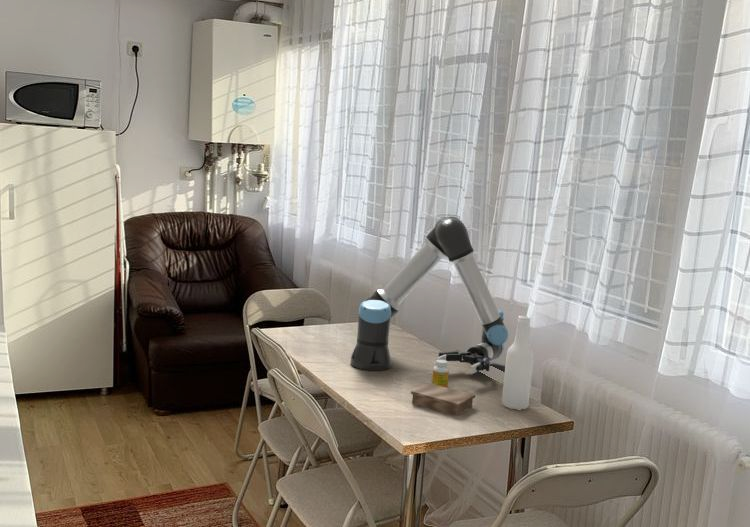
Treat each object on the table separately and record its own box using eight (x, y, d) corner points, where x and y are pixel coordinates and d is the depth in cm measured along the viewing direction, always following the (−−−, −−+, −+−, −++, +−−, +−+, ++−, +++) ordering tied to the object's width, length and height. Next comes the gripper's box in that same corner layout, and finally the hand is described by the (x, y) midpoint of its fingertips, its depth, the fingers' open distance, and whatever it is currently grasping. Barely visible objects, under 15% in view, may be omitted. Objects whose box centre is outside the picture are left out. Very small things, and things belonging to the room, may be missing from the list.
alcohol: (496, 401, 261) (506, 313, 256) (520, 401, 263) (530, 313, 258) (508, 410, 252) (518, 319, 248) (533, 410, 255) (543, 320, 250)
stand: (409, 403, 252) (410, 391, 252) (427, 394, 262) (428, 383, 262) (457, 416, 243) (458, 403, 243) (474, 407, 253) (475, 395, 253)
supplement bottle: (436, 391, 266) (439, 363, 265) (428, 386, 271) (430, 359, 270) (450, 390, 269) (452, 362, 268) (441, 385, 274) (444, 358, 272)
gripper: (509, 371, 289) (485, 384, 271) (448, 357, 302) (422, 368, 284) (511, 351, 288) (487, 363, 270) (450, 338, 301) (423, 348, 283)
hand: (453, 365), depth 277 cm, fingers open, 13 cm apart
